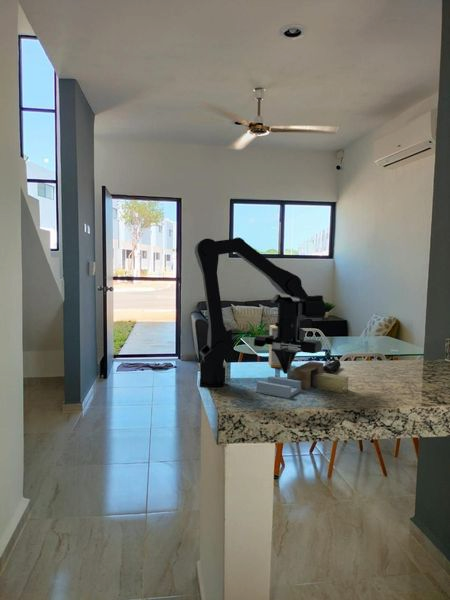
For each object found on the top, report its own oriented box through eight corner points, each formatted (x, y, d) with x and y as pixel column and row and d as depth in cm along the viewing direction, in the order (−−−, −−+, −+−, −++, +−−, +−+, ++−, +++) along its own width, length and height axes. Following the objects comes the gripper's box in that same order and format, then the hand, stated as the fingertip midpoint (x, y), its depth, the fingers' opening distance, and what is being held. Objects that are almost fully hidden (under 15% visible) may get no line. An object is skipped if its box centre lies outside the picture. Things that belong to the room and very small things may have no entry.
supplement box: (285, 368, 137) (286, 328, 136) (270, 367, 137) (271, 327, 136) (282, 362, 145) (283, 324, 144) (268, 362, 145) (269, 324, 144)
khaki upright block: (317, 388, 114) (318, 375, 113) (323, 385, 116) (324, 372, 116) (342, 393, 109) (342, 379, 109) (347, 390, 112) (348, 377, 112)
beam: (293, 387, 114) (294, 368, 113) (309, 378, 124) (310, 361, 123) (307, 389, 111) (308, 370, 111) (323, 380, 121) (323, 362, 121)
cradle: (256, 392, 108) (256, 382, 108) (270, 385, 115) (270, 375, 115) (288, 398, 104) (288, 387, 103) (301, 390, 110) (301, 381, 110)
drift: (287, 382, 118) (287, 369, 118) (293, 380, 121) (293, 367, 121) (316, 388, 113) (316, 375, 113) (322, 385, 116) (322, 372, 115)
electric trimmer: (343, 369, 138) (343, 359, 138) (328, 378, 125) (328, 368, 125) (332, 368, 140) (332, 358, 140) (316, 376, 127) (316, 366, 127)
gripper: (329, 319, 121) (327, 372, 122) (270, 314, 131) (269, 363, 132) (315, 322, 111) (313, 380, 112) (253, 317, 121) (252, 370, 122)
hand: (286, 373), depth 120 cm, fingers closed
